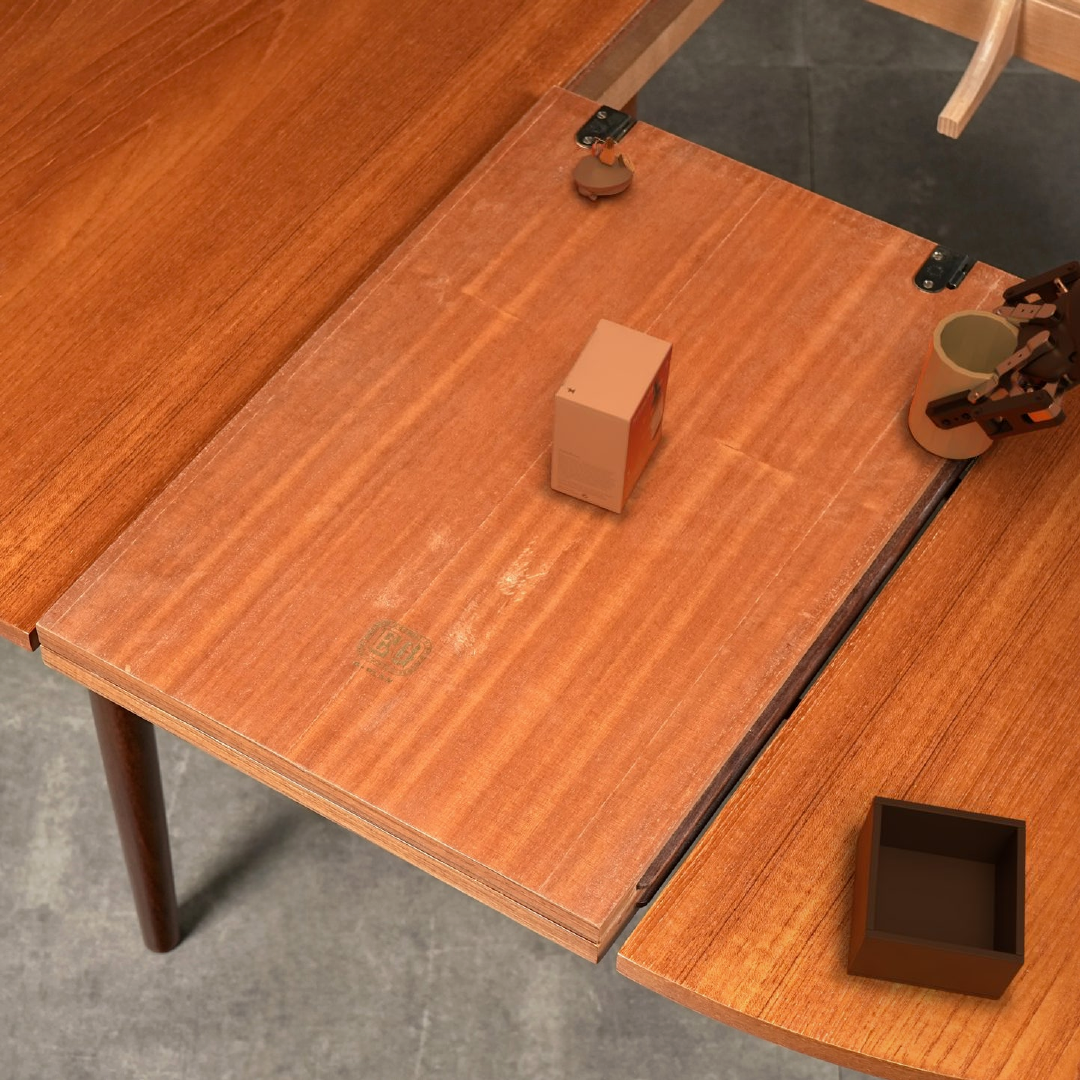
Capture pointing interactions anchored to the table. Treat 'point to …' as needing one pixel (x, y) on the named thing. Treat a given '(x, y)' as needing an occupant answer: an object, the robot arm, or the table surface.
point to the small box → (609, 415)
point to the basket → (939, 898)
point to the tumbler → (960, 377)
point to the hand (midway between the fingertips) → (942, 380)
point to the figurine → (603, 171)
